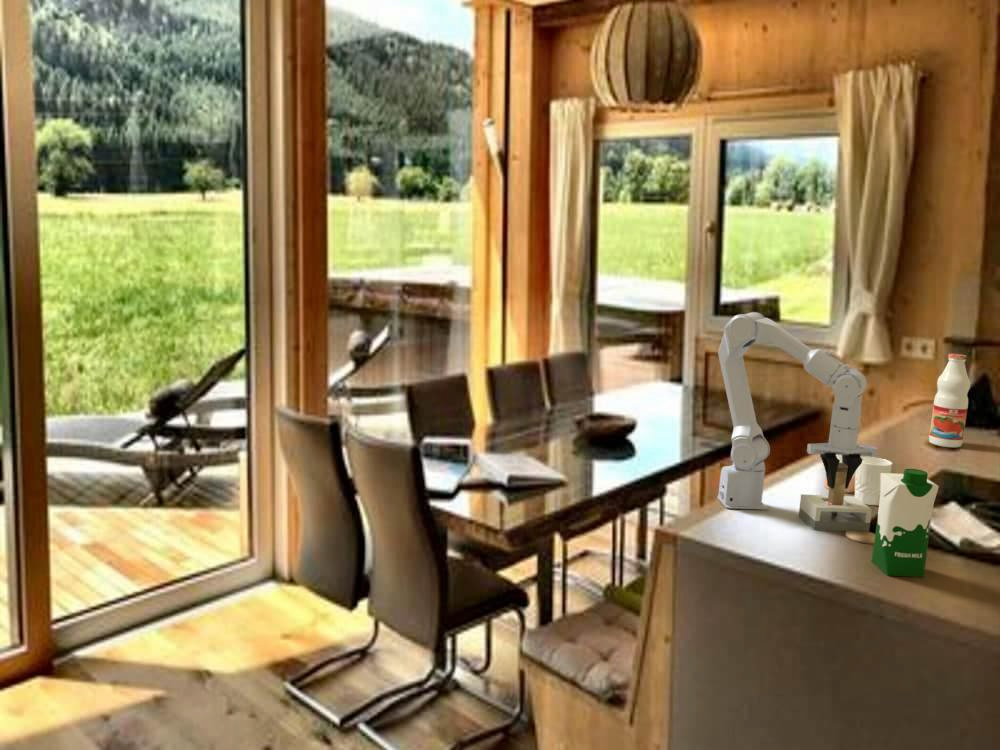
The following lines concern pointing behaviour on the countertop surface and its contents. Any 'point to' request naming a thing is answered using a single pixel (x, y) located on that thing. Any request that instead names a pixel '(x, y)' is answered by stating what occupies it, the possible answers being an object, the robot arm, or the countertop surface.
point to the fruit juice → (950, 404)
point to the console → (845, 520)
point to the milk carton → (904, 523)
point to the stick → (838, 485)
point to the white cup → (870, 479)
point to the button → (833, 504)
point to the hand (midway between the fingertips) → (837, 487)
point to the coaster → (861, 536)
